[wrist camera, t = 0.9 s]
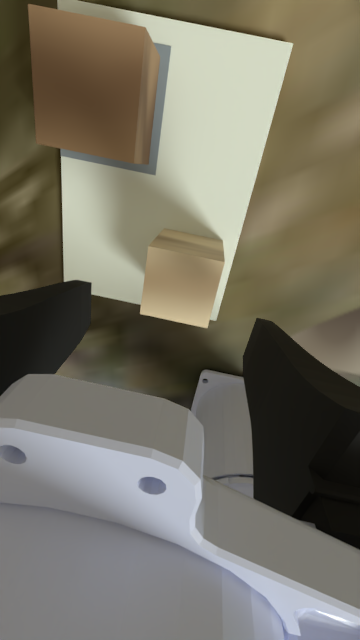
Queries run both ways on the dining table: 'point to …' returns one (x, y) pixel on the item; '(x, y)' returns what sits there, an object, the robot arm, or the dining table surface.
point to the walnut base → (93, 84)
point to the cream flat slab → (174, 155)
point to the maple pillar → (182, 277)
